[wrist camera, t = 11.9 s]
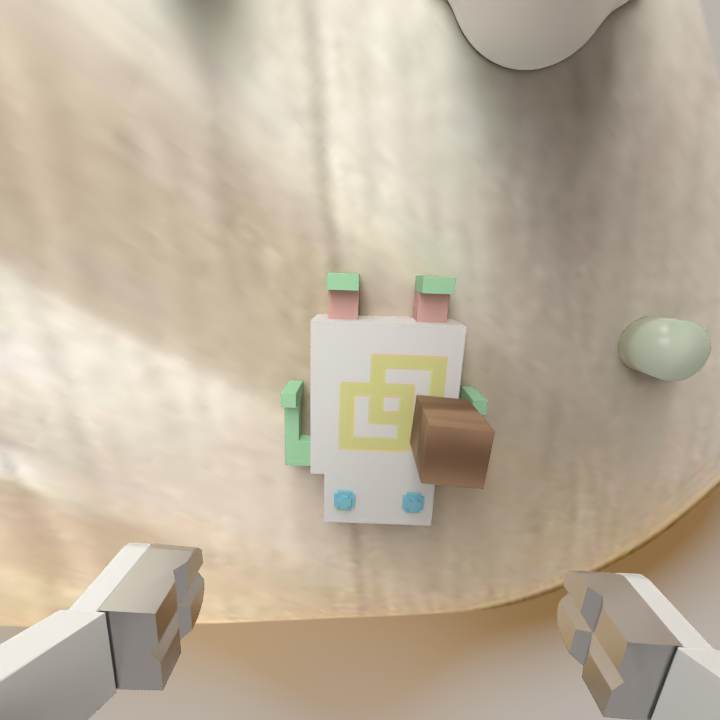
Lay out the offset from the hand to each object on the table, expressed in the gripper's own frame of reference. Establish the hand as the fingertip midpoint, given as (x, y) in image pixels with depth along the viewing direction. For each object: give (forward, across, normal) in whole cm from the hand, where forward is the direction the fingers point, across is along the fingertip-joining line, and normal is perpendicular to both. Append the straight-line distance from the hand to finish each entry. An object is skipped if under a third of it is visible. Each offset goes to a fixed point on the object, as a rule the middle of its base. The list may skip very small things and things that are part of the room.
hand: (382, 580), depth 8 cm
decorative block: (+32, -2, +6) cm, 32 cm away
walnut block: (+26, -7, +7) cm, 27 cm away
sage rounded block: (+31, -30, -1) cm, 43 cm away
